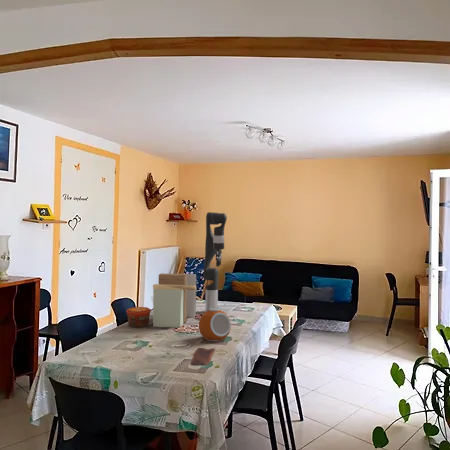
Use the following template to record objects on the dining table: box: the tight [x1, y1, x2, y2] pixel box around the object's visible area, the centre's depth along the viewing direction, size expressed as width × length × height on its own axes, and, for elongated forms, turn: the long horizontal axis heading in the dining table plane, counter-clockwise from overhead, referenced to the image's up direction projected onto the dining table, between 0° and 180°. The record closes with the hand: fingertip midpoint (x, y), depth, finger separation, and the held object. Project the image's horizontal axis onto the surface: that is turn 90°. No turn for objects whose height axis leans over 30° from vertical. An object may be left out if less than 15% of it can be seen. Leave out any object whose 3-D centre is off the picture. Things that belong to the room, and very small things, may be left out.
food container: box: [125, 306, 152, 329], centre depth 279 cm, size 16×16×11 cm
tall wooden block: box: [158, 272, 189, 324], centre depth 292 cm, size 9×20×32 cm, turn 84°
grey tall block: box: [186, 273, 197, 318], centre depth 307 cm, size 14×6×30 cm, turn 84°
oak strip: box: [152, 283, 197, 291], centre depth 279 cm, size 4×28×2 cm, turn 84°
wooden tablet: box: [190, 347, 216, 367], centre depth 217 cm, size 26×2×10 cm
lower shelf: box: [152, 289, 184, 328], centre depth 280 cm, size 9×18×24 cm, turn 84°
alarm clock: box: [198, 308, 232, 342], centre depth 251 cm, size 19×18×17 cm
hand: (218, 265), depth 293 cm, fingers open, 8 cm apart
